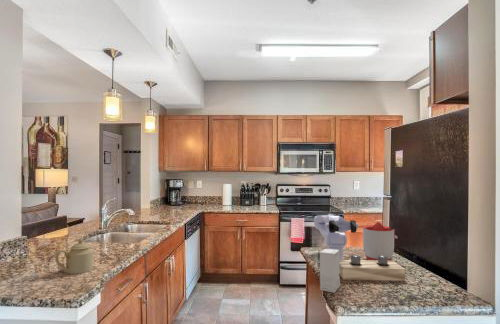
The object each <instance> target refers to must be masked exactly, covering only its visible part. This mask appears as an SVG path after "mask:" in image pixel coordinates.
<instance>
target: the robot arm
mask: <svg viewBox="0 0 500 324" xmlns="http://www.w3.org/2000/svg"><path fill="white" fill-rule="evenodd" d="M313 225H314V227H315V229H316V230H318V231H319V232H320V234H321V236H322V237H323V240H324V244H325V245H326V246H327V248H326V249H334V250H339V260H344V248H345V246H346V245H347V239H348V238H347V235H346V233H345V232H347V231H350V233H351V234H352V233H353V234H354V233H357V229H359V224H358V223H357V221H356V220H354V219H350V221H349V220H346V219H344V217H342V216H340V215H334V214H332V213H328V214H326V215H325V214H324V215H323V214H321V215H315V216H314V217H313Z"/></svg>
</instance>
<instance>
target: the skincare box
mask: <svg viewBox="0 0 500 324" xmlns="http://www.w3.org/2000/svg"><path fill="white" fill-rule="evenodd" d="M340 277H341V276H340V267H339V250H334V249H327V248H325V249H322V251H320V252H319V280H320V281H319V283H320V284H319V286H320V287H319V288H320V291H324V292H328V293H333V294H334V293H336V292H337V290H338V289H340V287H341V278H340Z"/></svg>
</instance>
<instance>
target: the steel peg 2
mask: <svg viewBox="0 0 500 324" xmlns="http://www.w3.org/2000/svg"><path fill="white" fill-rule="evenodd" d="M378 265H379V266H388V257H387V256H384V255H378Z"/></svg>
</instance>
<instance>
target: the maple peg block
mask: <svg viewBox="0 0 500 324" xmlns="http://www.w3.org/2000/svg"><path fill="white" fill-rule="evenodd" d="M339 267H340V277H341V278H342V280H343V281H395V282H396V281H399V282H403V281H404V282H405V281H406V268H405V267H403V266H401V265H400V264H398V263H397V262H396V261H394V260H391V261H388V266H379V265H378V260H367V259H365V260H363V259H362V260H361V259H360V266H352V265H351V259H343V260H339Z"/></svg>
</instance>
